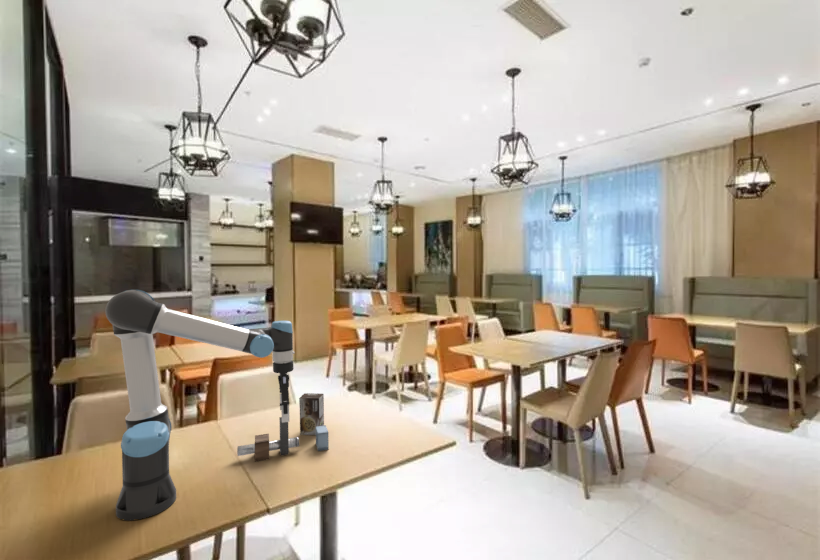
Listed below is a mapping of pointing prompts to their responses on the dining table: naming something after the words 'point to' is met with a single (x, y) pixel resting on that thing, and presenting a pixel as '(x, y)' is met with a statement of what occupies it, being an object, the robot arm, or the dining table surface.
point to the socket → (322, 438)
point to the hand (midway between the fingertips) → (284, 415)
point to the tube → (274, 442)
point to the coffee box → (311, 412)
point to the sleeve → (261, 447)
